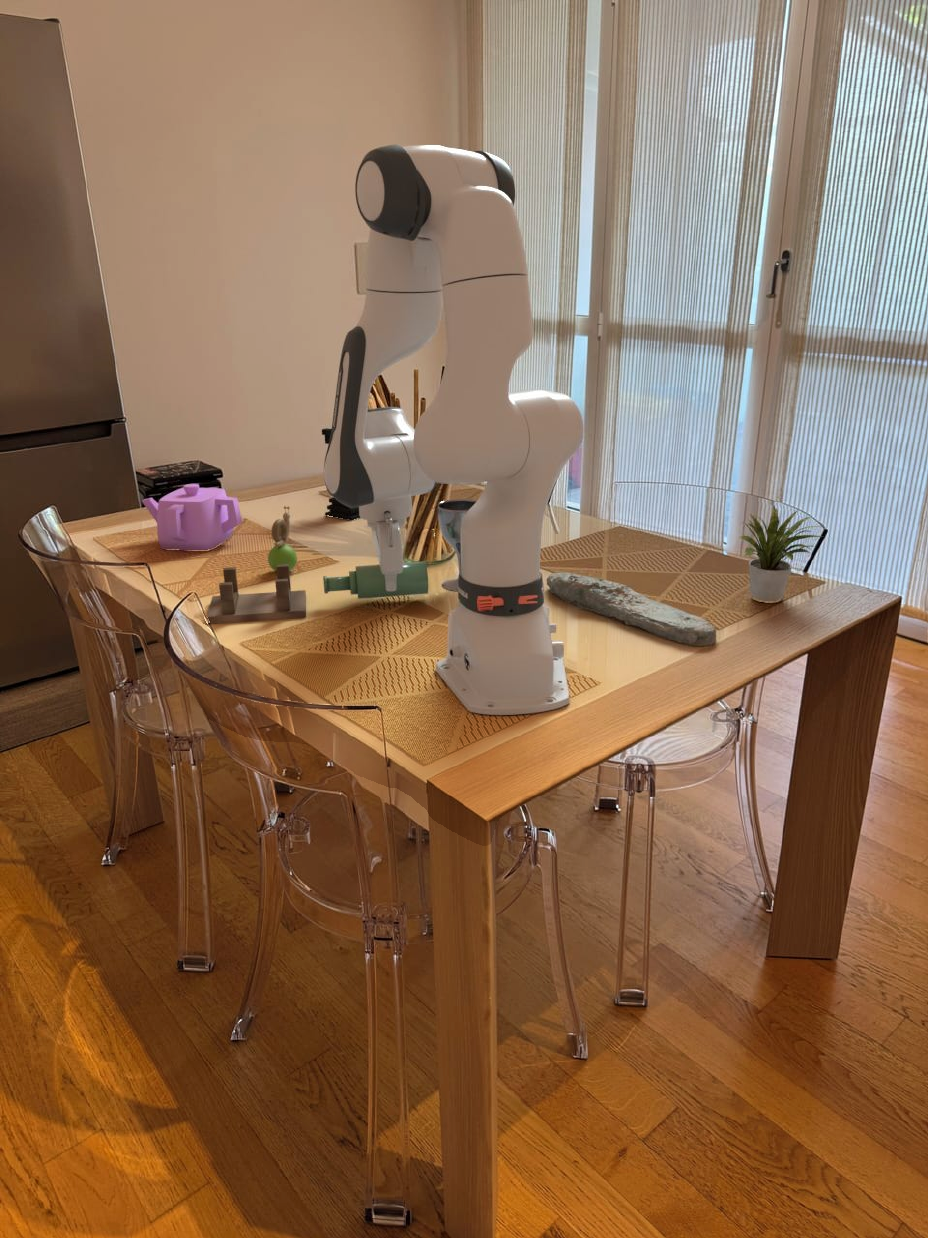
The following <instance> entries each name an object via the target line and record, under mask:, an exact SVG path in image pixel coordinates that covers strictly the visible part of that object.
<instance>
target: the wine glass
mask: <svg viewBox="0 0 928 1238" xmlns="http://www.w3.org/2000/svg"><path fill="white" fill-rule="evenodd" d="M477 501H478V500H475V499H467V498H466V499H465V498H456V499H448V500H447V499H446V500H443V501H440V502H439V503H437V518H438V525H439V529H440V534H441V535H442V537H443V539H444V540H445V541H446V543H448V545H450V547H452V549H453V550H454V552H455V554H456V557H457V563H458V574H459V573H460V572H461V523H462V520H463V518H464V516H465V514H466V513H467V511H468V510H469V509H470V508H471V507H472V506H473V505H474V504H475V503H476V502H477ZM457 583H458V577H457V578H456V577H455V578H450V579H449V578H448V579H447V580H444V581H443V582H442V583H441V587H442V588H443V589H444V590H448V591H451V592H458V589H457Z"/></svg>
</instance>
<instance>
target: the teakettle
mask: <svg viewBox="0 0 928 1238" xmlns="http://www.w3.org/2000/svg"><path fill="white" fill-rule="evenodd" d="M227 495H228V494H227V493H226V489H224V488H219V487H215V486H214V487H211V486H210V487H200V485H199V483H188V484H185V485H183V486H182V487H180V488H177V489H176V490H174V491H172V492H170V493H168V494H166V495H164V496H162V497H161V498H159V500H158V502H157V501H156V500H155V499H154V498H153V497H149V498H148V497H147V498H144V499H142V500H141V502H142V504H143V505H144V506H145V508H146V510H147V511H148V512H149V514H150V515H151V516H152V518H153V519H154V521H155V522H156V528H157V529H156V530H157V533H156V534H157V540H158V543H159V545H160V548H161V549H162V548H163V549H179V550H208V549H212V548H214V547H216V546H217V545H219V544H220V543H222V542H224V541H225V540H226V539H227V538H229V537H230V536H231V535H232V536H233V534H234V529H235V528H236V527H238V526H239V525H241V524H243V519H242V515H241V509H240V505H239V500H238V497H231V496H227ZM232 533H233V534H232ZM163 549H162V550H163Z"/></svg>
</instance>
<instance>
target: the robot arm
mask: <svg viewBox="0 0 928 1238" xmlns="http://www.w3.org/2000/svg"><path fill="white" fill-rule="evenodd" d="M354 186H355V189H354V190H355V191H354V192H355V200H356V205H357V209H358V212H359V214H360V216H361V218H362V219H363V221H364V222H365V224H366V225H367V227H369V228H370V230H369V235H368V240H367V250H366V263H365V299H364V305H363V310H362V312H361V314H360V317H359V319H358V322H357V324H356V326H354V327H353V328H352V329H351V330H349V331H348V332H347V333H346V335H345V338H344V341H343V346H342V349H341V350H342V351H341V354H340V360H339V367H338V374H337V382H336V389H335V399H334V406H333V407H334V408H333V416H332V423H331V428H330V429H331V436H330V441H329V444H327V445H328V446H327V449H326V452H325V453H326V454H325V458H324V464H323V478H324V479H323V480H324V484H325V487H326V491H327V492H328V494H329V495H330V496H331V498H333V497H334V498H335V499H336V500H337V501H339V502H340V503H342V504H343V505H345V506H347V507H350V508H355V507H359V516H360V517H361V518H360V519H363V520H366V521H367V522H366V523H367V527H369V528H371V532H372V537H373V542H374V546H375V551H376V554H377V558H378V565H380V569H381V573H382V574H384V575H385V586H386V590H387V591H388V592H389V591H396V589H397V586H396V579H397V574H400V573H402V572H403V563H404V553H403V542H402V541H403V540H402V532H401V528H402V527H404V526H405V525H406V519H407V518H410V516H412V515H413V506H412V497H414V496H419V495H424V494H427V493H430V492H432V491H434V489H435V488H436V486H437V485H438V484H447V485H461V486H462V485H465V486H468V485H469V486H470V485H475V484H476V485H477V484H480V483H485V482H486V483H485V486H484V489H483V491H482V493H481V494H480V496H479V498H478V499H477V500H476V501H477V502H476V503H475V504H474V505H473V506H472V507H471V508H470V509H469V510H468V511H467V513H466V514H465V516H464V518H463V520H462V523H461V572H460V573H459V572H458V576H457V578H458V583H457V589H458V591H457V597H458V604H457V605H456V606H455V608H453V610H452V611H450V613H449V614H448V616H447V643H446V644H447V645H446V646H447V647H446V649H447V651H446V652H447V653H446V657H445V658H443V659H440V660H438V661H437V662H436V663H435V671H436V673H437V674H438V675H439V676H440V678H441V679H442V680H443V681H444V683H445V684H446V685H447V687H448V688H449V689H450V690H451V691H452V693H453V694H454V695H455V697H457V699H458V700H459V701H460V703H461V704H462V705H463V706H464V708H466V710H467V711H468V712H470V713H475V714H480V715H490V716H511V715H523V714H524V715H525V714H536V713H541V712H542V713H543V712H547V711H551V710H556V709H559V708H561V707H565V706H567V705H569V704H570V701H571V699H570V692H569V686H568V685H569V684H568V679H567V673H566V668H565V663H564V662H565V660H564V656H565V655H564V654H565V650H564V649H565V648H564V647H565V646H564V645H565V644H564V641H562V640H554V641H553V640H552V634H557V624H556V623H554V622H553V623H552V622H551V623H550V607H549V606H547V605H546V604H545V597H544V592H545V587H544V586H545V584H544V579H543V574H542V572H541V552H542V551H541V547H542V533H543V522H544V517H545V514H546V513H545V512H546V510H547V507H548V504H549V500H550V497H551V495H552V492H553V489H554V486H555V485H556V483H557V480H558V478H559V476H560V474H561V472H562V471H563V469H564V467H565V466H566V465H567V464H568V462H569V461H570V460H571V459H572V458H573V457H574V456H575V454H576V453H577V452H578V450H579V449H580V446H581V444H582V441H583V437H584V422H583V417H582V414H581V411H580V408H579V406H578V405H577V404H576V402H575V401H574V400H573V399H572V398H571V397H570V396H569V395H568V394H565V393H562V392H558V391H553V390H547V389H537V388H532V389H531V388H530V389H524V390H517V391H509V390H510V389H509V387H510V386H509V385H510V380H511V376H512V372H513V368H514V367H515V364H516V362H517V360H518V359H519V358H520V357H521V356H522V355H524V354H525V353H526V352H527V351H528V349H529V348H530V346H531V343H532V341H533V338H534V337H533V336H534V328H533V315H532V305H531V296H530V295H531V293H530V285H529V283H530V282H529V273H528V267H527V266H528V265H527V258H526V252H525V246H524V240H523V236H522V231H521V228H520V223H519V220H518V217H517V216H518V215H517V214H516V213H517V212H516V209H515V200H516V185H515V180H514V175H513V172H512V170H511V169H510V167H509V165H508V164H507V163H506V161H505V160H503V159H502V158H500V157H498V156H496V155H494V154H492V153H489V152H486V151H483V150H474V151H469V150H465V149H460V148H455V147H454V148H453V147H446V146H442V145H437V144H436V145H435V144H415V145H406V146H401V145H398V144H390V145H385V146H383V145H382V146H380V147H377V148H373V149H372V150H369V151H368V152H367V153H366V154H365V155H364V156H363V158H362V160H361V163H360V165H359V167H358V169H357V173H356V177H355V185H354ZM443 310H444V311H443ZM443 312H444V321H445V335H446V337H445V338H446V356H445V364H444V369H443V374H442V377H441V381H440V384H439V387H438V389H437V392H436V394H435V396H434V397H433V400H432V401H431V403H430V404H429V406H428V407H427V408H426V409H425V411H424V412H423V413H422V414H421V415H420V417H419V418H418V420H417V423H416V424H415V428H413V426H412V425H411V424H410V423H409V422H408V418H407V415H406V412H405V410H403V409H402V408H401V407H397V406H384V407H376V408H369V404H370V403H369V402H370V396H371V395H370V394H371V391H372V387H373V385H374V383H375V381H376V380H377V378H378V377H379V376H380V375H381V374H382V373H383V372H384V371H385V370H387V369H388V368H389V367H391V366H392V365H394V364H396V363H398V362H400V361H402V360H403V359H406V358H408V357H410V356H412V355H414V354H415V353H417V352H419V351H421V350H422V349H424V347H426V345H428V344H429V343H430V342H431V341H432V339H433V338H434V337H435V335H436V334H437V332H438V331H439V329H440V326H441V322H442V321H441V320H442V315H443Z"/></svg>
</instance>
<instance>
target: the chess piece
mask: <svg viewBox="0 0 928 1238" xmlns="http://www.w3.org/2000/svg"><path fill="white" fill-rule="evenodd" d="M331 429H332V428H328V427H327V428H322V429H321V435H322V436H324V444H326V445H329V441H330V436H331ZM328 503H330V504H329V505H326V510H328V511H326V512H324V516H325V515H329V516H333V517H338V518H337V519H339V518H343V519H342V520H344V519H349V520H348V521H350V520H353V521H355V520H354V519H356V520H358V519H361V518H360V516H359V507H355V508H350V507H347V506H345V505H343V504H342V503H340V502H339V501H337V500H336V499H335V498H334V497H331V498H328ZM333 517H332V518H333ZM357 518H358V519H357Z"/></svg>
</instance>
